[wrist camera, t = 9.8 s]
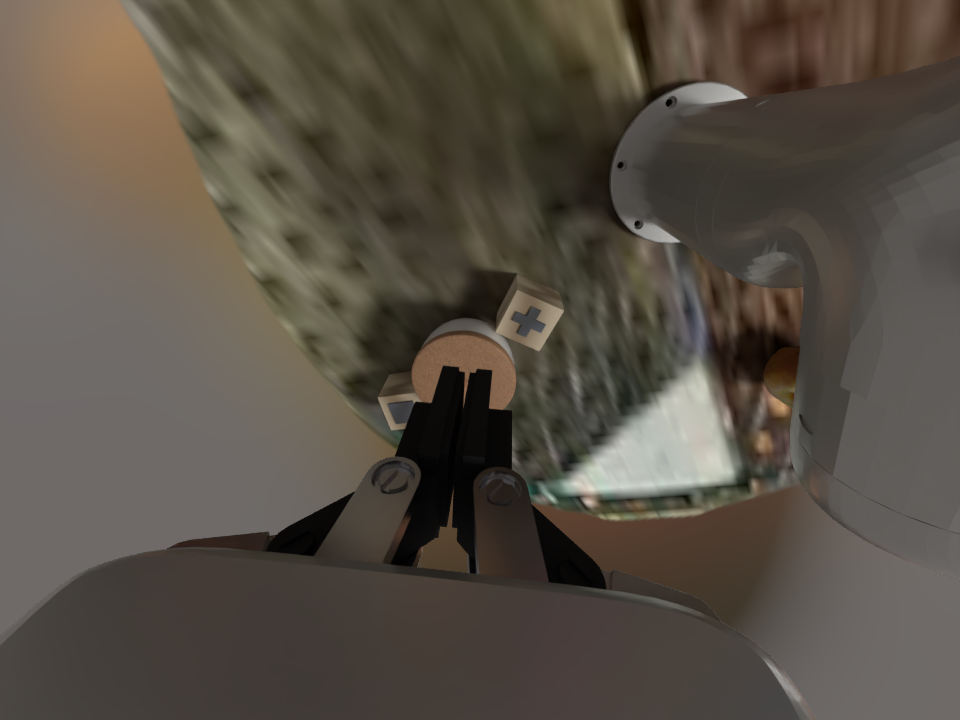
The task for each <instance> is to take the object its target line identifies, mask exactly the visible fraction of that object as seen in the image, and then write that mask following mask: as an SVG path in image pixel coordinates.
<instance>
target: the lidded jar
mask: <svg viewBox="0 0 960 720" xmlns="http://www.w3.org/2000/svg"><path fill="white" fill-rule="evenodd" d="M495 331H496V328H495V327H493V326H492V325H490V324H488V323H486V322H484V321H482V320H479V319H474V318H459V319H455V320H451V321H449V322H446V323H444V324H442V325H441V326H439V327H438V328H437V329H436V330H434V331H433V332H432V333H431V334H430V335H429V337H428V338H427V339H426V341H425V342H424V343H423V345H422V347H421V349H420V350H419V352H418V354H417V355H416V357H415V359H414V362H413V366H412V371H411V378H412V384H413V388H414V390H415V392H416V394H417V396H418V397H419V399H420V400H421V401H422V402H427V403H432V400H433V396H434V393H435V390H436V386H437V383H438V380H439V376H440V373H441V370H442V367H443V366H453V367H459V371H461V372H465V385H464V402H465V396H466V391H467V385H468V380H469V374H470V372H472V373H476V369H485V370H492V381H491V393H490V404H489V409H500V410H503V409H504V408H505V407H506V406H507V405H508V403H509V402H510V400H511V399H512V397H513V395H514V391H515V388H516V372H515V366H514V358H513V355H512V351H511V348H510V346H509V344H508V342H507V340H506V339H505V338H504V336H503V335H500V334H498V333H496V332H495ZM463 407H464V405H463Z"/></svg>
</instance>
